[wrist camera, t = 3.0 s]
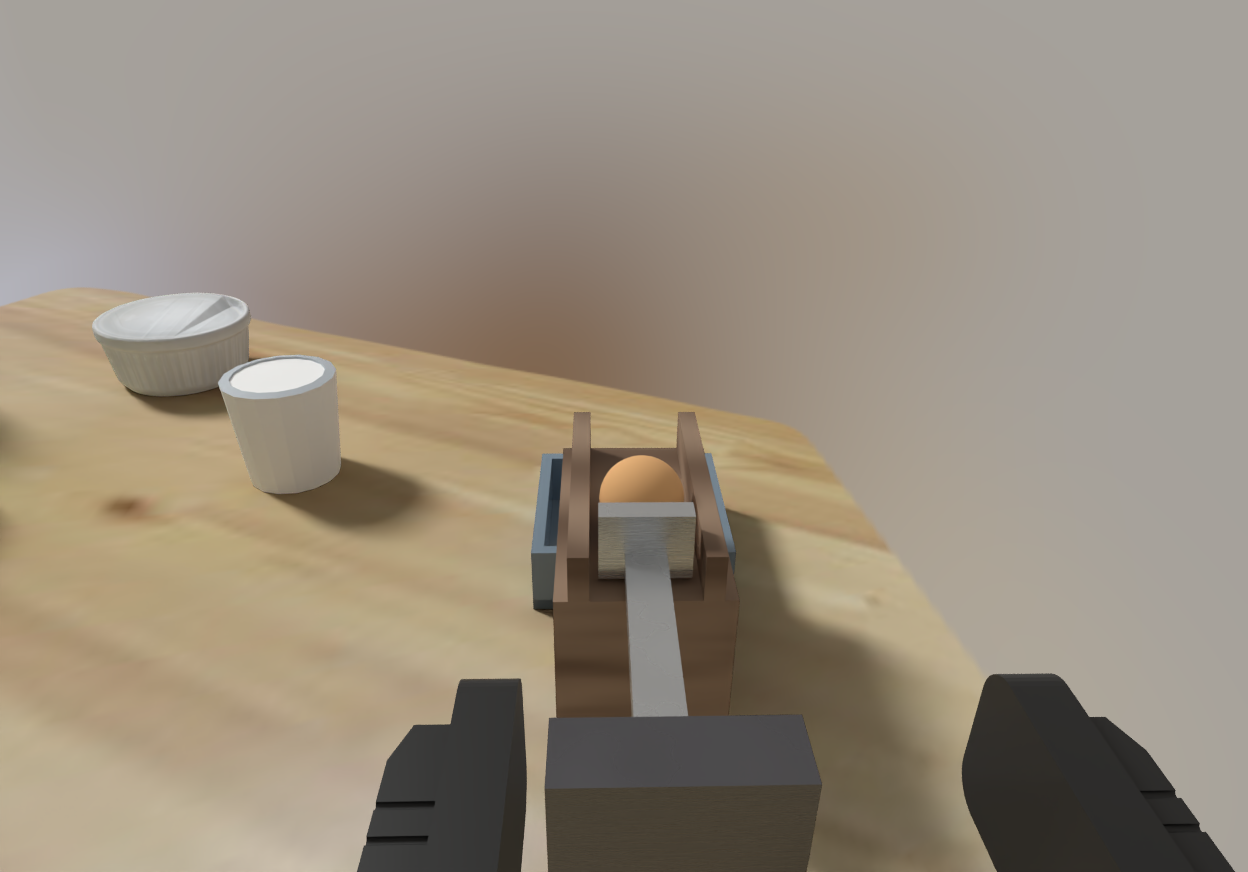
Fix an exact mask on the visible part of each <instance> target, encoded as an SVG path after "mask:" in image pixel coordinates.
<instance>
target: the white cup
mask: <svg viewBox="0 0 1248 872" xmlns="http://www.w3.org/2000/svg"><path fill="white" fill-rule="evenodd" d="M218 385H219V388H220V391H221V394H222V397H223V399H224V402H225V405H226V408H227V411H228V414H229V417H230V420H231V423H232V426H233V429H234V432H235V435H236V438H237V441H238V443H239V446H240V449H241V452H242V455H243V458H244V461H245V464H246V467H247V470H248V473H249V476H250V479H251V481H252V484H253V486H254V487H256V488H258V489H259V490H261V491H263V492H268V493H274V494H290V493H299V492H303V491H307V490H311V489H315V488H317V487H319V486H321V485H324V484H326V483H328V482H330V481H331V480H332V479H333V478H334V477H335V476H336V475H337V474H339V471H340V467H341V452H340V434H339V416H338V397H337V379H336V369H335V367H334V366H333V364H332V363H331V362H329V361H327V360H324V359H322V358H319V357H313V356H305V355H285V356H274V357H268V358H263V359H257V360H254V361H251V362H248V363H245V364H242V365H239V366H237V367H235V368H233V369H231V370H230V371H228V372H226V373H225V374H223V376H222V377H221V379H220V380H219V382H218Z"/></svg>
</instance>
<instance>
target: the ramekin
mask: <svg viewBox="0 0 1248 872" xmlns="http://www.w3.org/2000/svg"><path fill="white" fill-rule="evenodd" d="M250 320H251V315H250V310H249V307H248V306H247V305H246V304H245V303H244V302H243V301H241V300H239V299H237V298H234V297H230V296H226V295H220V294H211V293H182V294H172V295H164V296H157V297H151V298H146V299H141V300H137V301H133V302H130V303H126V304H123V305H120V306H118V307H115V308H113V309H111V310H108V311H107V312H105V313H103V314H101V315H100V316H99V317H98V318H96V320H94V322H93V325H92V329H93V333H94V336H95V338H96V340H97V341H98V342H99V343H100V344H101V345H102V347H103V349H104V351H105V353H106V355H107V357H108V360H109V362H110V364H111V366H112V368H113V370H114V372H115V374H116V376H117V378H118V380H119V381H120V382H121V383H122V384H123V385H124V386H126V387H128V388H129V389H131V390H132V391H134V392H136V393H139V394H143V395H149V396H180V395H187V394H194V393H199V392H203V391H207V390H211V389H214V388H217V387H219V385H218V382H219V380H220V379H221V377H222V376H223V374H225V373H226V372H228V371H230V370H231V369H233V368H235V367H237V366H239V365H242V364H245V363H248V360H249V330H248V325H249V323H250Z"/></svg>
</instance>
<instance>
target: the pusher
mask: <svg viewBox="0 0 1248 872" xmlns="http://www.w3.org/2000/svg"><path fill="white" fill-rule="evenodd" d="M695 527H696V513H695V508H694V503H693V502H614V503H598V579H625V595H626V615H627V634H628V654H629V674H630V694H631V713H632V717H583V718H549V728H548V744H547V760H546V776H545V808H546V832H547V855H548V872H807V866H808V860H809V855H810V849H811V843H812V838H813V832H814V827H815V821H816V815H817V810H818V804H819V798H820V793H821V787H822V783H821V779H820V776H819V772H818V769H817V765H816V762H815V758H814V755H813V751H812V748H811V744H810V741H809V738H808V734H807V731H806V727H805V724H804V720H803V717H802V715H739V716H688V711H687V704H686V696H685V688H684V680H683V673H682V665H681V657H680V649H679V642H678V634H677V626H676V618H675V610H674V603H673V595H672V587H671V579H670V578H692V574H693V558H694V543H695Z"/></svg>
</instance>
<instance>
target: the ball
mask: <svg viewBox="0 0 1248 872" xmlns="http://www.w3.org/2000/svg"><path fill="white" fill-rule="evenodd" d="M599 501H600V503H614V502H684V490H683V486H682V483H681V480H680V478H679V477H678V475H677V473H676V472H675V471H674V470H673V468H671V467H670V466H669V465H668V464H667V463H665V462H664V461H662V460H660V459H658V458H655V457H652V456H646V455H638V456H632V457H629V458H626V459H623V460H622V461H620V462H618V463H617V464H616V465H614V466H613V467H612V468H611V469H610V470H609V472H608V473H607V474H606V476H605V478H604V480H603V482H602V485H601V488H600V495H599Z"/></svg>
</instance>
